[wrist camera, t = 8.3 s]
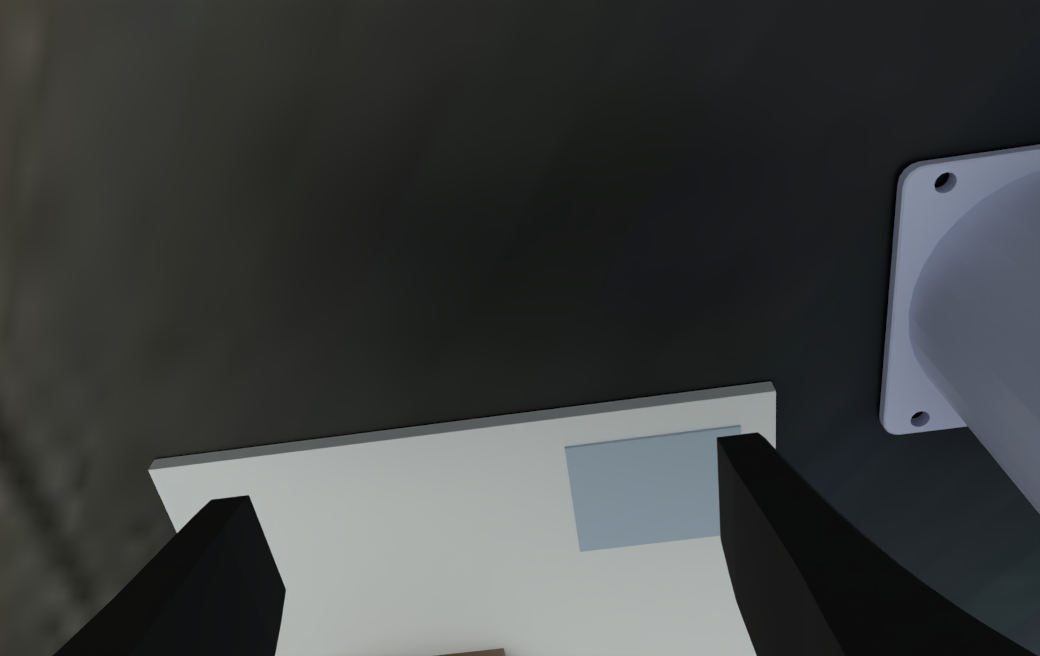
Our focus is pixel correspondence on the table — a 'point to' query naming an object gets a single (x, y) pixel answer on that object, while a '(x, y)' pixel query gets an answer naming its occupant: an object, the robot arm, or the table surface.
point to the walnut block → (480, 653)
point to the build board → (499, 530)
